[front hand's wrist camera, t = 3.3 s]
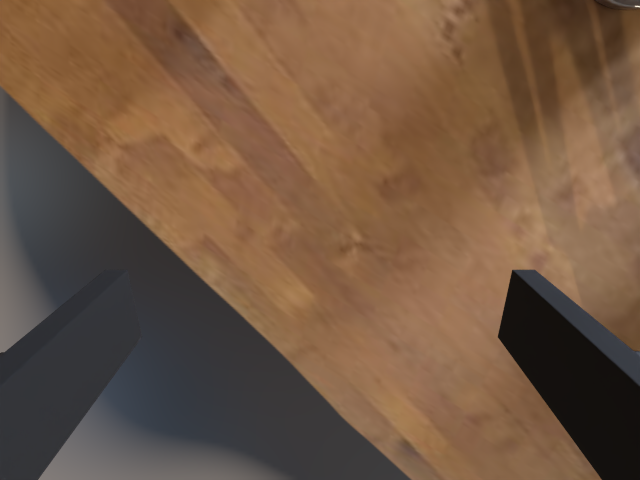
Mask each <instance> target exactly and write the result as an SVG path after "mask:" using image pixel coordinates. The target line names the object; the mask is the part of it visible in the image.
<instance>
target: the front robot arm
mask: <svg viewBox="0 0 640 480" xmlns="http://www.w3.org/2000/svg"><path fill="white" fill-rule="evenodd" d="M595 1H597V2H598V3H600V4H602V5H604V6H607V7H610V8H613V9H619V10H634V9H640V0H595ZM141 338H142V334H141V330H140V325H139V320H138V316H137V311H136V306H135V302H134V297H133V293H132V288H131V283H130V279H129V274H128V270H104V271H103V272H102V273H101V274H99V275H98V276H97V277H96V278H95V279H93V280H92V281H91V282H90V283H89V284H87V285H86V286H85V287H84V288H82V289H81V290H80V291H79V292H78V293H76V294H75V295H74V296H73V297H71V298H70V299H69V300H68V301H67V302H65V303H64V304H63V305H62V306H60V307H59V308H58V309H57V310H56V311H54V312H53V313H52V314H51V315H50V316H48V317H47V318H46V319H45V320H43V321H42V322H41V323H40V324H39V325H37V326H36V327H35V328H34V329H32V330H31V331H30V332H29V333H28V334H26V335H25V336H24V337H23V338H22V339H20V340H19V341H18V342H17V343H15V344H14V345H13V346H12V347H11V348H9V349H8V350H7V351H6V352H2V353H0V480H38V479H39V478H40V476H41V475H42V473H43V472H44V471H45V469H46V468H47V467H48V465H49V464H50V462H51V461H52V460H53V458H54V457H55V456H56V454H57V453H58V451H59V450H60V449H61V447H62V446H63V445H64V443H65V442H66V441H67V439H68V438H69V436H70V435H71V434H72V432H73V431H74V430H75V428H76V427H77V425H78V424H79V423H80V421H81V420H82V419H83V417H84V416H85V415H86V413H87V412H88V410H89V409H90V408H91V406H92V405H93V404H94V402H95V401H96V399H97V398H98V397H99V395H100V394H101V393H102V391H103V390H104V388H105V387H106V386H107V384H108V383H109V382H110V380H111V379H112V378H113V376H114V375H115V373H116V372H117V371H118V369H119V368H120V367H121V365H122V364H123V362H124V361H125V360H126V358H127V357H128V356H129V354H130V353H131V352H132V350H133V349H134V347H135V346H136V345H137V343H138V342H139V341H140V339H141ZM498 338H499V339H500V341H501V342H502V343H503V345H504V346H505V347H506V349H507V350H508V352H509V353H510V354H511V356H512V357H513V358H514V360H515V361H516V363H517V364H518V365H519V367H520V368H521V369H522V371H523V372H524V373H525V375H526V376H527V378H528V379H529V380H530V382H531V383H532V384H533V386H534V387H535V389H536V390H537V391H538V393H539V394H540V395H541V397H542V398H543V399H544V401H545V402H546V404H547V405H548V406H549V408H550V409H551V410H552V412H553V413H554V415H555V416H556V417H557V419H558V420H559V421H560V423H561V424H562V425H563V427H564V428H565V430H566V431H567V432H568V434H569V435H570V436H571V438H572V439H573V441H574V442H575V443H576V445H577V446H578V447H579V449H580V450H581V451H582V453H583V454H584V456H585V457H586V458H587V460H588V461H589V462H590V464H591V465H592V467H593V468H594V469H595V471H596V472H597V473H598V475H599V476H600V478H601V479H602V480H640V351H633V350H632V349H631V348H629V347H628V346H627V345H626V344H625V343H623V342H622V341H621V340H620V339H618V338H617V337H616V336H615V335H614V334H612V333H611V332H610V331H609V330H608V329H606V328H605V327H604V326H603V325H601V324H600V323H599V322H598V321H597V320H595V319H594V318H593V317H592V316H590V315H589V314H588V313H587V312H586V311H584V310H583V309H582V308H581V307H580V306H578V305H577V304H576V303H575V302H573V301H572V300H571V299H570V298H569V297H567V296H566V295H565V294H564V293H562V292H561V291H560V290H559V289H558V288H556V287H555V286H554V285H553V284H551V283H550V282H549V281H548V280H547V279H545V278H544V277H543V276H542V275H541V274H539V273H538V272H537V271H536V270H512V274H511V279H510V283H509V288H508V293H507V297H506V302H505V306H504V311H503V316H502V320H501V325H500V329H499V334H498Z"/></svg>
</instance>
